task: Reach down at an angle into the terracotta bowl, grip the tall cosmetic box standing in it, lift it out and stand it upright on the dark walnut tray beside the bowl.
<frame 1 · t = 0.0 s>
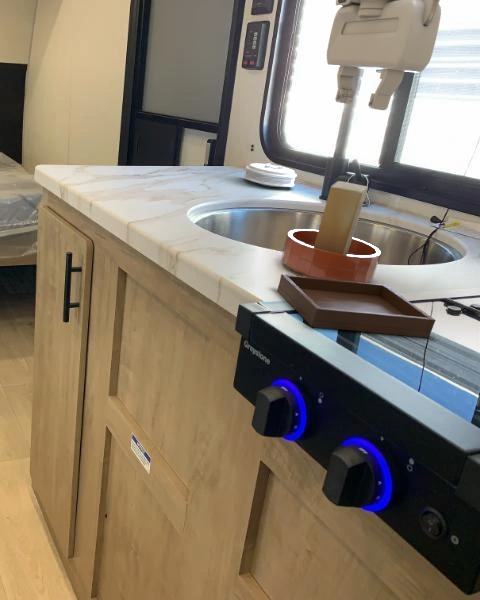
hand: (358, 106, 79), 23 cm above the countertop, tool pointing down, fingers open, 8 cm apart
cosmetic box: (325, 268, 88), resting on bowl
bowl: (324, 271, 89), on the countertop
tray: (348, 312, 74), on the countertop
lid: (267, 185, 154), on the countertop
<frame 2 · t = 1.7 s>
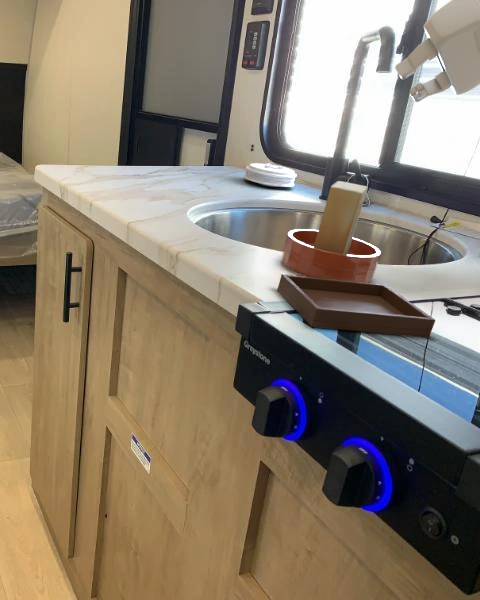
hand: (405, 85, 82), 27 cm above the countertop, tool tilted 45°, fingers open, 8 cm apart
nothing on the countertop moved.
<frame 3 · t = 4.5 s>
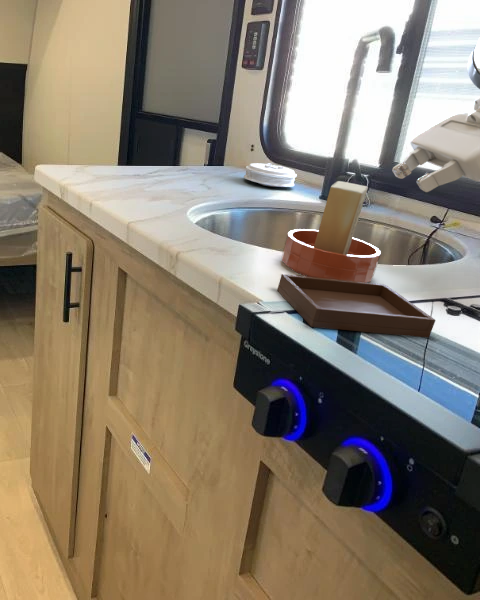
hand: (407, 180, 84), 14 cm above the countertop, tool tilted 45°, fingers open, 8 cm apart
nothing on the countertop moved.
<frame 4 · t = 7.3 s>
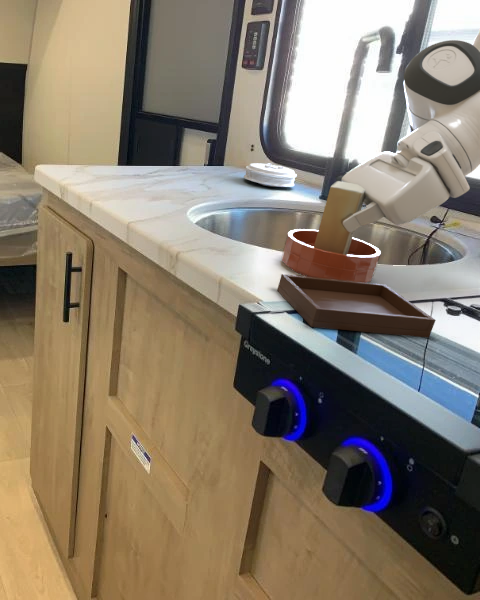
hand: (335, 219, 86), 8 cm above the countertop, tool tilted 45°, fingers closed on cosmetic box, 7 cm apart
cosmetic box: (325, 268, 88), resting on bowl, touching gripper
everything else where it was.
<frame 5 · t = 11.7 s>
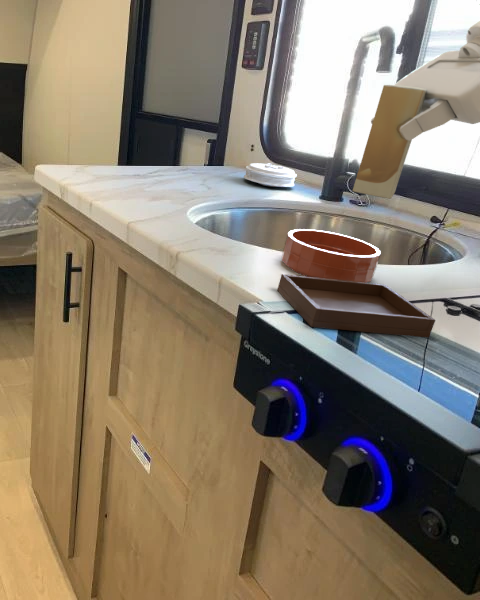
hand: (387, 130, 69), 21 cm above the countertop, tool tilted 45°, fingers closed on cosmetic box, 7 cm apart
cosmetic box: (373, 194, 72), point 14 cm above the countertop, touching gripper
everything else where it was.
when the fingers open (8 cm above the countertop, at t = 16.5 s): cosmetic box stays where it is, resting on tray.
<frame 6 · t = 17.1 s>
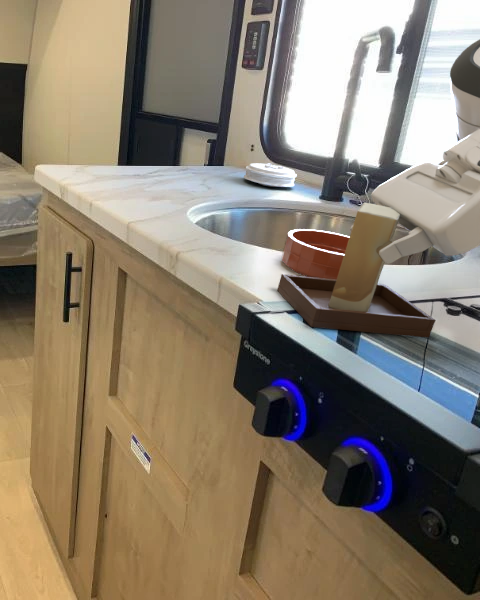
hand: (366, 245, 70), 9 cm above the countertop, tool tilted 45°, fingers open, 8 cm apart
cosmetic box: (349, 307, 74), point 1 cm above the countertop, touching tray
everything else where it was.
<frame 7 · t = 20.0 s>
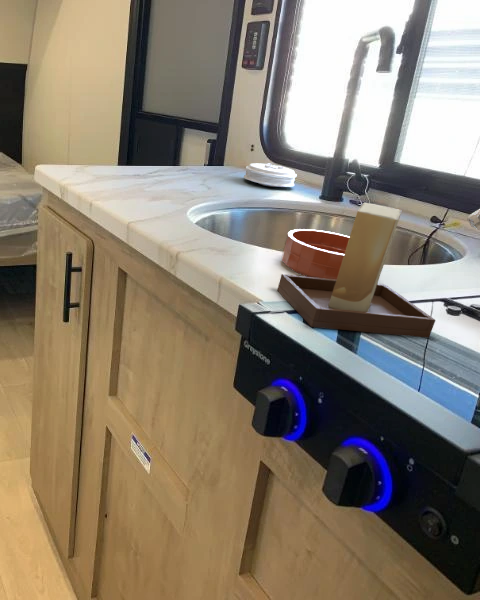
nothing on the countertop moved.
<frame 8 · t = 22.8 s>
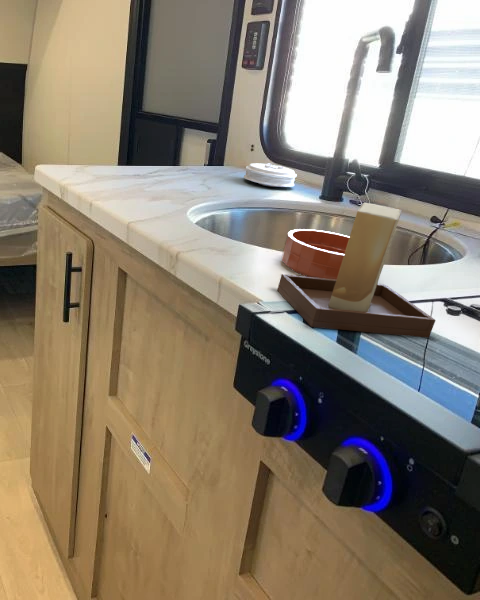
nothing on the countertop moved.
at the end: cosmetic box inside the target area in the tray (0.2 cm from its centre), point 0.6 cm above the tray's base; cosmetic box tilted 0°; the gripper is holding nothing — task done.
